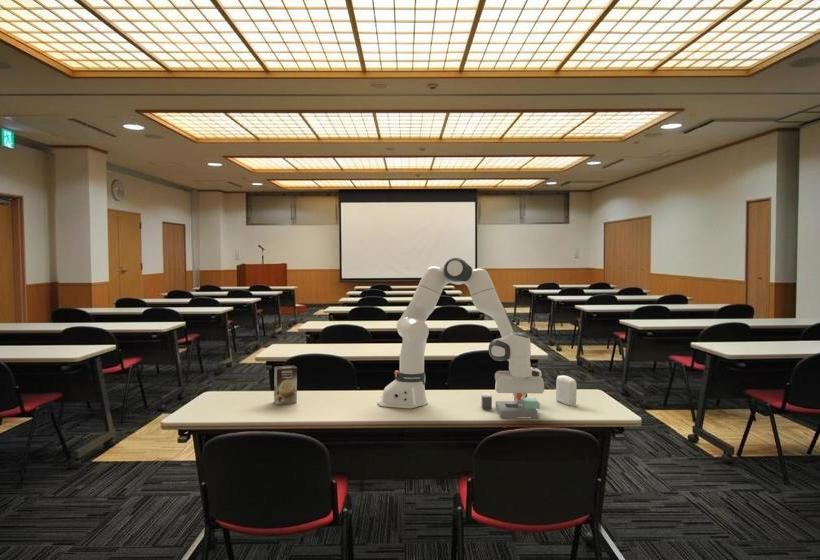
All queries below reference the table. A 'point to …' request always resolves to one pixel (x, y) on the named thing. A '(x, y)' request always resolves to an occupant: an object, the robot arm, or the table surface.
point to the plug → (486, 401)
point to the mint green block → (530, 403)
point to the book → (566, 390)
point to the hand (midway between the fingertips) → (519, 403)
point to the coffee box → (285, 385)
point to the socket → (514, 410)
